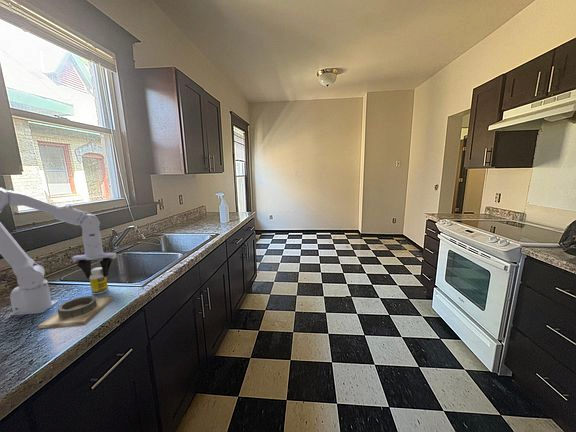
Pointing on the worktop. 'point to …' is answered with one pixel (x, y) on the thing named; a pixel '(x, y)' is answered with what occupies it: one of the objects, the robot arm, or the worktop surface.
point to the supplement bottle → (98, 281)
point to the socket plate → (76, 319)
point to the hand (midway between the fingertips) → (97, 276)
